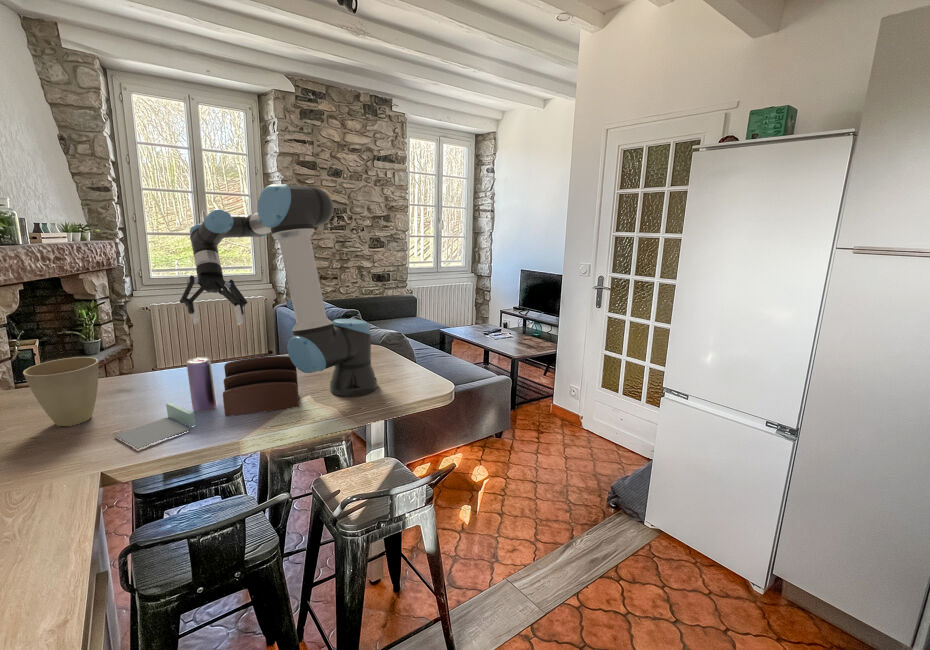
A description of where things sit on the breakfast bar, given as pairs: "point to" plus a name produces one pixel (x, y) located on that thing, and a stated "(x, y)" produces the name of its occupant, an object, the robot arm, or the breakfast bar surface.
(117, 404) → the breakfast bar surface
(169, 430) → the slate coaster
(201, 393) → the beverage can
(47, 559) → the breakfast bar surface
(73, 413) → the plant pot
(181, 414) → the frosted wall
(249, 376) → the letter holder
